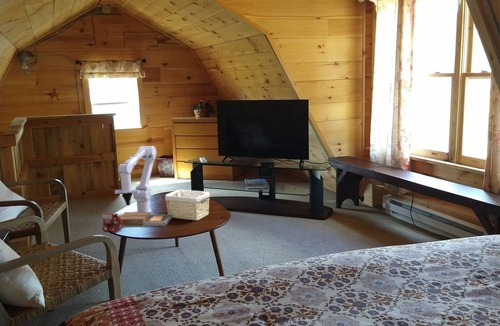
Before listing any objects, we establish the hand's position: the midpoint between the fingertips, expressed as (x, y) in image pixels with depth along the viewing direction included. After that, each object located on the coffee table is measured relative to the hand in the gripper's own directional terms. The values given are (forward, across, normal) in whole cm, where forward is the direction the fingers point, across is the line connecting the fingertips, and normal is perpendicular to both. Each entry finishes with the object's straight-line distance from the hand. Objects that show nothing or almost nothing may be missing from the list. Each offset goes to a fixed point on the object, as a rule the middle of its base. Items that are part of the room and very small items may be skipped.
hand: (128, 205), depth 263 cm
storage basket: (+10, +35, +9) cm, 37 cm away
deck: (+10, +4, -3) cm, 11 cm away
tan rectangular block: (+7, +18, -3) cm, 20 cm away
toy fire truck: (+10, -3, -18) cm, 21 cm away
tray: (+10, +19, -3) cm, 22 cm away
